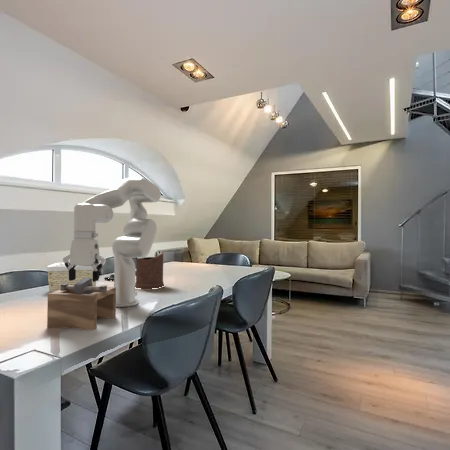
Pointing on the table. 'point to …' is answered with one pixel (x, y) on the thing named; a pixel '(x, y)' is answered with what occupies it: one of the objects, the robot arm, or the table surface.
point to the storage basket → (66, 275)
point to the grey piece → (83, 286)
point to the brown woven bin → (149, 272)
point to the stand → (80, 307)
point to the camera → (110, 277)
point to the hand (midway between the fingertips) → (83, 280)
